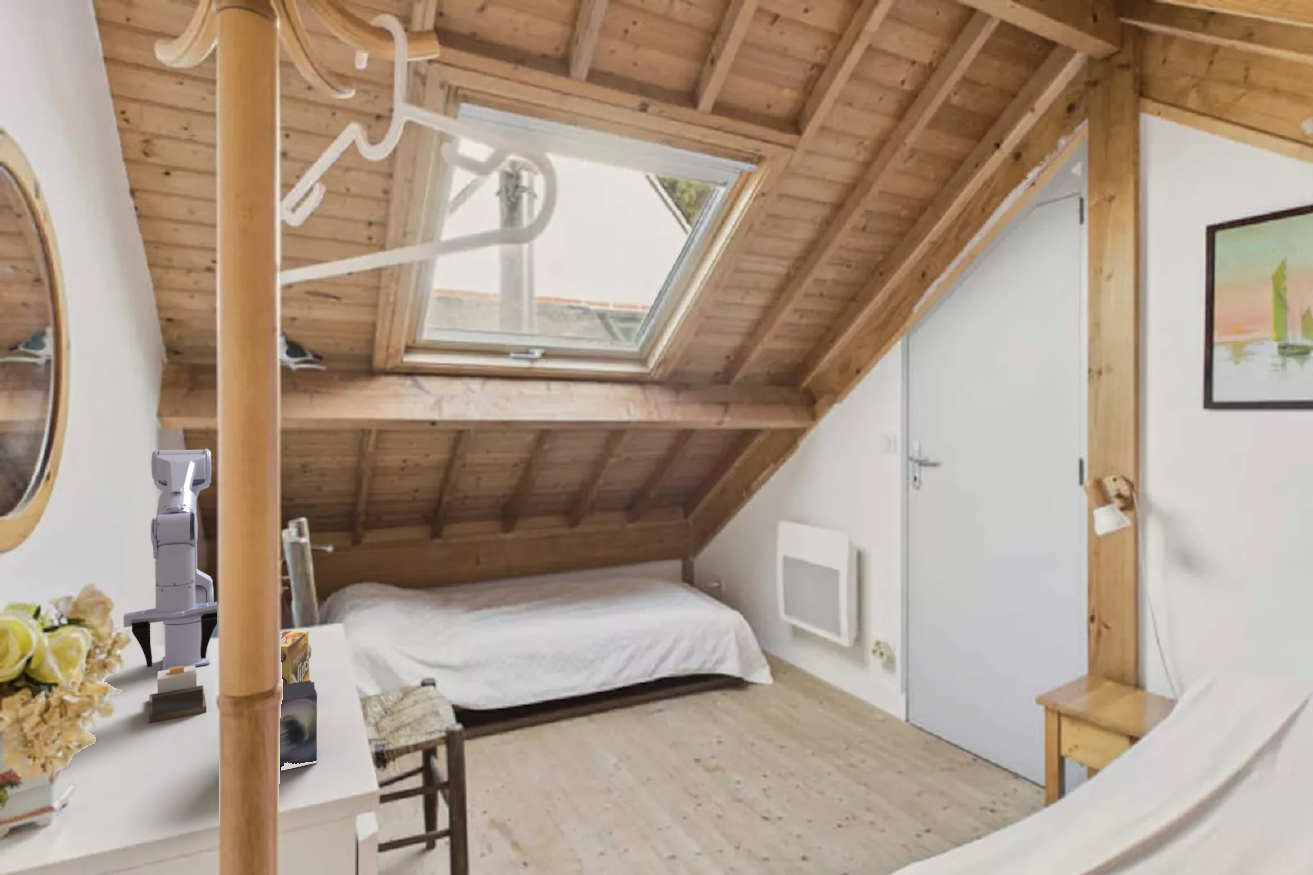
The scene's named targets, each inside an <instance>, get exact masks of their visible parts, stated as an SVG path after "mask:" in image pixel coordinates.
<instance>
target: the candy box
mask: <svg viewBox="0 0 1313 875" xmlns="http://www.w3.org/2000/svg"><path fill="white" fill-rule="evenodd" d="M281 634H282V637H281V662H282V679H283V685H286V684H292V683H298V682H303V681H309V680H310V659H309V645H310V644H309V630H289V631H283V632H282V633H281Z"/></svg>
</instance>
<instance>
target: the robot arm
mask: <svg viewBox="0 0 1313 875" xmlns="http://www.w3.org/2000/svg"><path fill="white" fill-rule="evenodd" d="M150 464H151V477H152V479H153V483H154V486H156V489H157V490H159V491H162V492H161V494H159V497H158V500H157V501H158V503H157V510H156V517H152V519H151V522H150V539H151V540H150V541H151V545H152V551H153V552H152V553H153V554H152V555H153V559H155V562H154V564H155V565H154V566H155V568H154V570H155V571H154V572H155V575H154V577H155V580H154V581H155V586H154V587H155V607H154V608H149V609H145V610H138V611H133V612H132V611H131V612H126V613H123V628H129V627H131V632H132V634H133V636H134V637H135V639H136V640H137V642H138V644H139V646H140V648H141V651H142V653H143V656H144V659H145V661H146V662H145V663H146V668H151V667H153V654H152V653H153V652H152V645H151V623H162V624H163V625H164V656H163V657H162V671H163V670H169V669H170V667H176V666H182V665H184V667H187V666H193V665H195V667H198V666H204V665H210V664H211V658H210V654H209V653H210V652H209V650H208V646H209V643H210V640H211V637H212V635H213V632H214V630H215V628H216V627H217V625H218V622H217V602H218V601H214V600H215V599H214V598H215V597H214V596H215V594H214V593H215V592H214V584H213V582H214V581H213V579H212V576H210V575H208V574H207V573H205V572H203V571H201V570H199V569H198V533H199V531H198V530H199V529H198V528H199V527H198V525H199V523H198V516H197V500H198V497H199V494H200V492H201V491H203V490H205V489H208V488H209V487H210V484H211V483H212V452H211V450H210V449H209V448H204V449H161V450H160V449H155V450H154V451H152V453H151V463H150Z"/></svg>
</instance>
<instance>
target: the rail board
mask: <svg viewBox="0 0 1313 875" xmlns="http://www.w3.org/2000/svg"><path fill="white" fill-rule="evenodd" d="M148 697H149V699H148V724H152V723H157V722H162V721H167V720H172V719H178V718H182V717H188V716H193V715H198V714H203V713H207V702H206V696H205V689H204V685H203V684H201V685H197V687H192V688H186V689H180V690H175V691H169V692H163V693H158V692H156V693H151V694H149V696H148Z"/></svg>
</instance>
